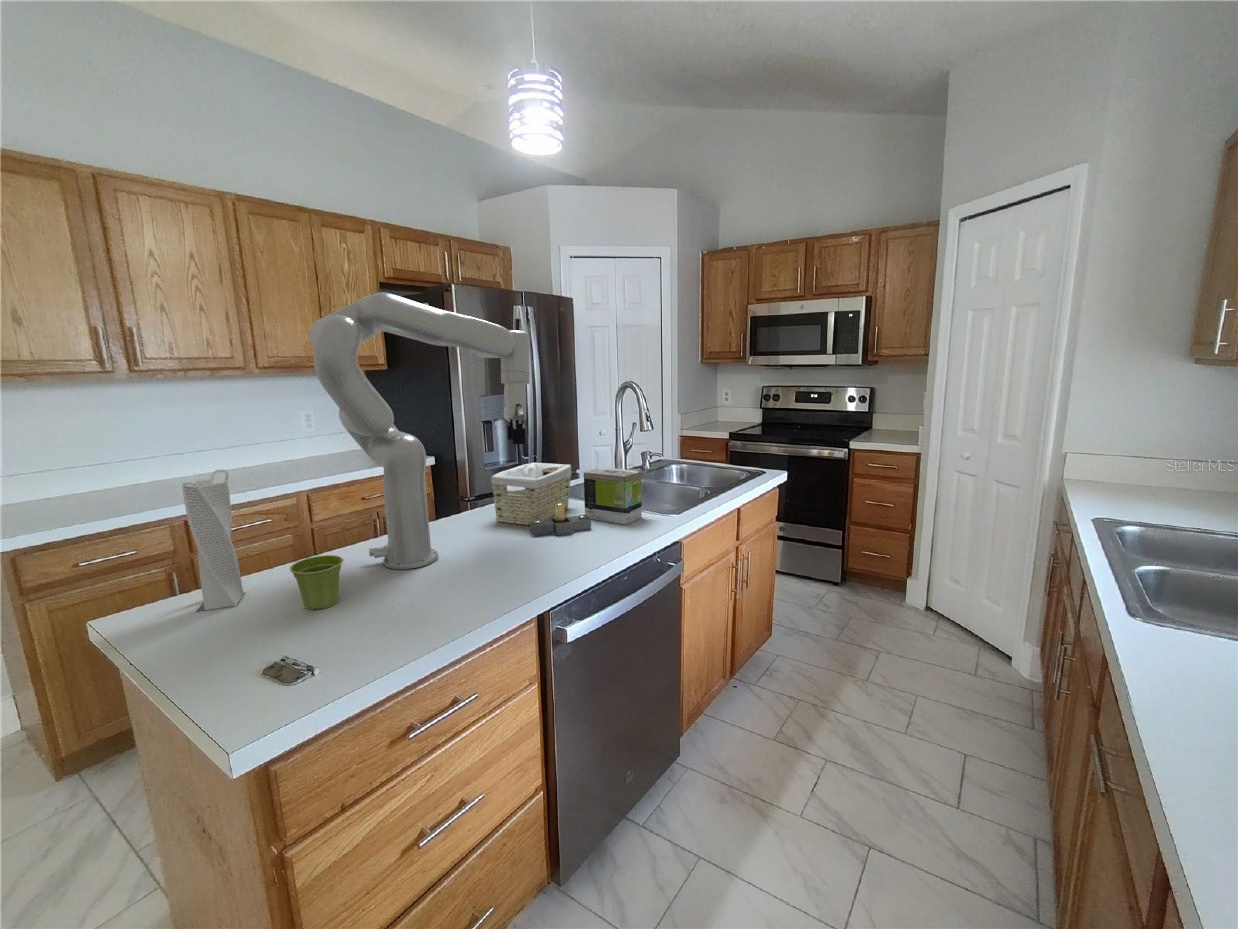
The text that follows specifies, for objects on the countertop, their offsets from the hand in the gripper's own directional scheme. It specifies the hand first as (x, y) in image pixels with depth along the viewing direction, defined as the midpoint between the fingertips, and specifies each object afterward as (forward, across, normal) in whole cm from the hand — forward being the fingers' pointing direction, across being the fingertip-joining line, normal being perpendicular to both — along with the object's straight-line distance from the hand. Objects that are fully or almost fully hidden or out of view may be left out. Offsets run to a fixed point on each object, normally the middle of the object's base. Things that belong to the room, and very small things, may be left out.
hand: (516, 441), depth 150 cm
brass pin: (+26, +1, +12) cm, 29 cm away
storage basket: (+26, -18, +8) cm, 32 cm away
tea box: (+25, -5, +30) cm, 40 cm away
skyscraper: (+30, +23, -63) cm, 73 cm away
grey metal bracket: (+26, +1, +12) cm, 28 cm away
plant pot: (+29, +30, -44) cm, 61 cm away
